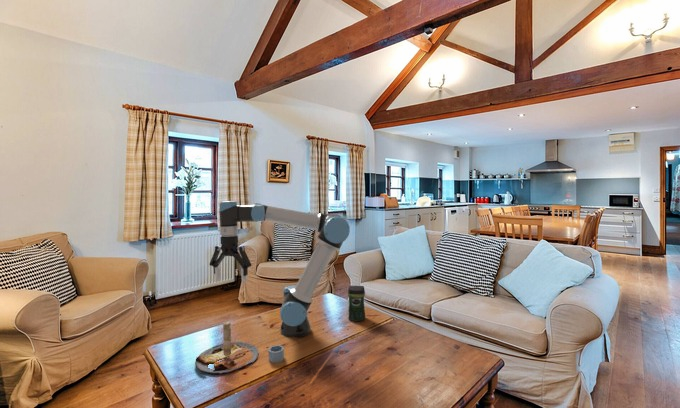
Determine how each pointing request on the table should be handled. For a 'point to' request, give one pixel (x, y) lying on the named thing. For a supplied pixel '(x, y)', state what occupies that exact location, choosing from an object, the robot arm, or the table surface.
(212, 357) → the food plate
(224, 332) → the pestle
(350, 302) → the coffee jar
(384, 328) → the table surface
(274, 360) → the cup
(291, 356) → the table surface
